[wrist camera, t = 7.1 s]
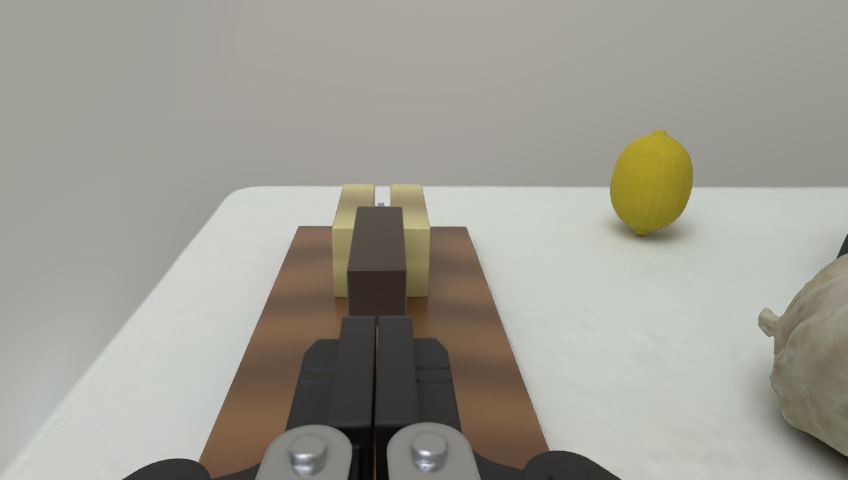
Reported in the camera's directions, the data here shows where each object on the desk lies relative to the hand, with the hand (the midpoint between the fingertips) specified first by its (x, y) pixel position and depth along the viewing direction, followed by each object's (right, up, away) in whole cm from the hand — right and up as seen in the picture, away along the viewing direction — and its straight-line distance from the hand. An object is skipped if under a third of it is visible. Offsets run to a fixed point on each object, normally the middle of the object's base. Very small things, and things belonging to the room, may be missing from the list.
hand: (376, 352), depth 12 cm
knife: (-1, -3, +12) cm, 12 cm away
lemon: (+18, +3, +30) cm, 35 cm away
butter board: (-1, -2, +17) cm, 17 cm away
